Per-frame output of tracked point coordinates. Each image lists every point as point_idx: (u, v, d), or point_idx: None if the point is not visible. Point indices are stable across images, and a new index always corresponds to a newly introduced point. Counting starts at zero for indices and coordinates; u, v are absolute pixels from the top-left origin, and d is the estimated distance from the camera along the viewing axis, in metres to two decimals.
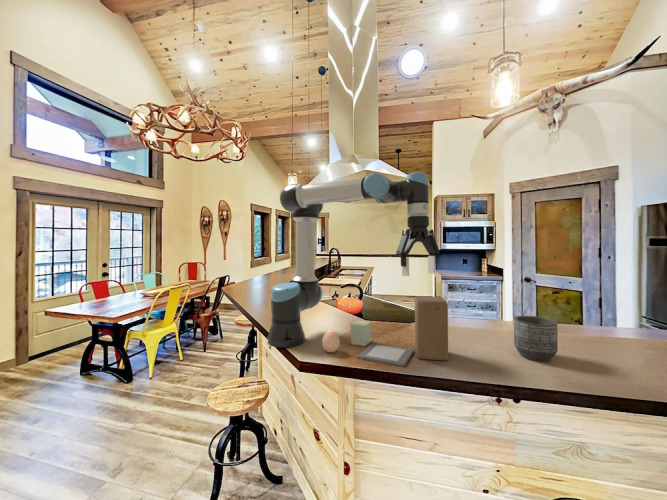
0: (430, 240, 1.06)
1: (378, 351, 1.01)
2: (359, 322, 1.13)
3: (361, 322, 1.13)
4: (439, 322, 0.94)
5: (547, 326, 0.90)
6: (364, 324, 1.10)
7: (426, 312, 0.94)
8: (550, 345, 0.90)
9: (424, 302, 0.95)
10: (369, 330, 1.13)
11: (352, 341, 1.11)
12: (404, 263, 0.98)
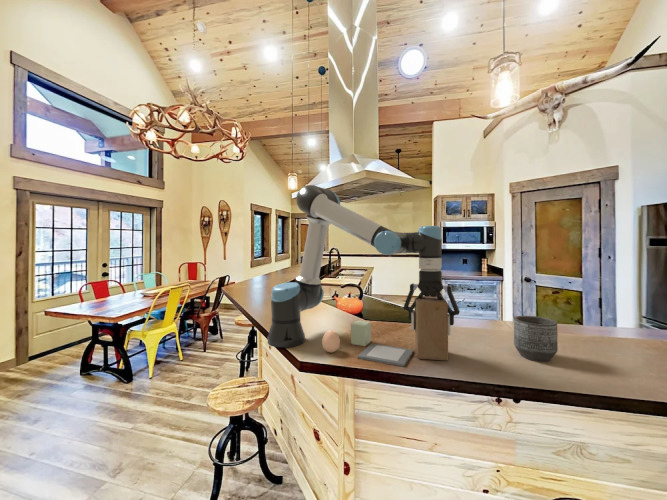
0: None
1: (378, 351, 1.01)
2: (359, 322, 1.13)
3: (361, 322, 1.13)
4: (439, 322, 0.94)
5: (547, 326, 0.90)
6: (364, 324, 1.10)
7: (426, 312, 0.94)
8: (550, 345, 0.90)
9: (424, 302, 0.95)
10: (369, 330, 1.13)
11: (352, 341, 1.11)
12: (409, 317, 1.02)
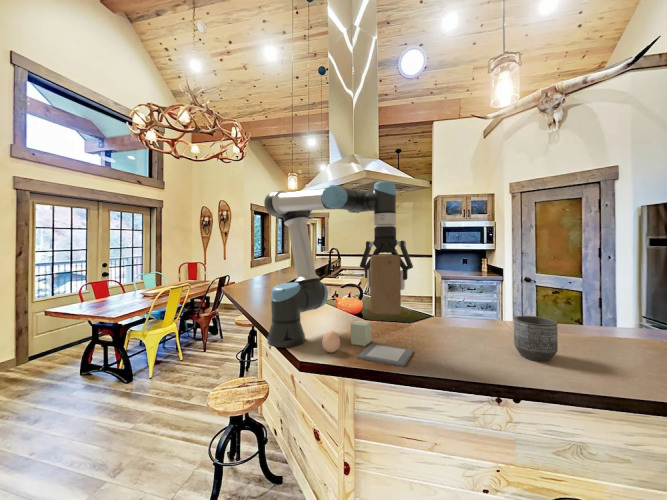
0: None
1: (378, 351, 1.01)
2: (359, 322, 1.13)
3: (361, 322, 1.13)
4: (391, 276, 0.94)
5: (547, 326, 0.90)
6: (364, 324, 1.10)
7: (379, 266, 0.95)
8: (550, 345, 0.90)
9: (377, 256, 0.95)
10: (369, 330, 1.13)
11: (352, 341, 1.11)
12: (366, 275, 1.02)
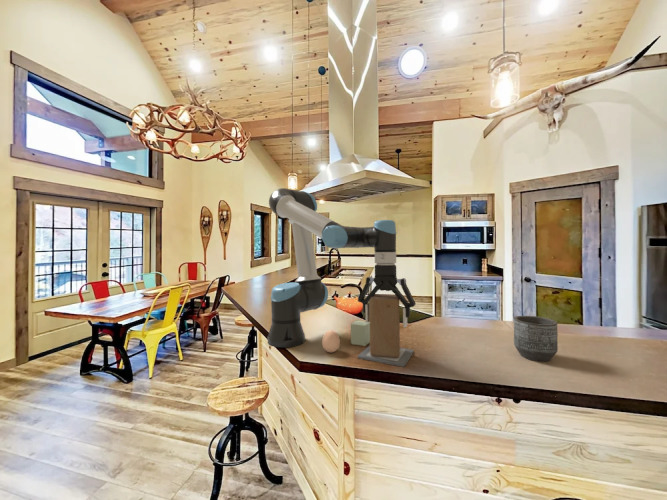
0: None
1: None
2: (359, 322, 1.13)
3: (361, 322, 1.13)
4: (390, 320, 0.94)
5: (547, 326, 0.90)
6: (364, 324, 1.10)
7: (378, 309, 0.95)
8: (550, 345, 0.90)
9: (376, 299, 0.95)
10: (369, 330, 1.13)
11: (352, 341, 1.11)
12: (364, 309, 1.02)
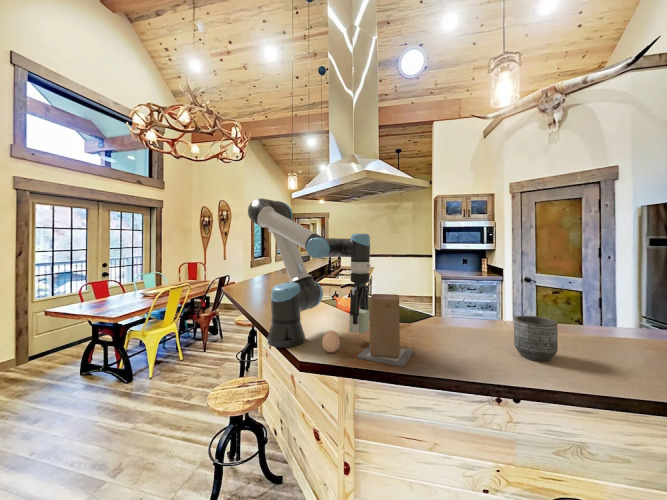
0: None
1: None
2: None
3: (360, 310, 1.13)
4: (390, 320, 0.94)
5: (547, 326, 0.90)
6: (363, 312, 1.11)
7: (378, 309, 0.95)
8: (550, 345, 0.90)
9: (376, 299, 0.95)
10: (368, 318, 1.13)
11: (350, 329, 1.11)
12: (356, 321, 1.09)
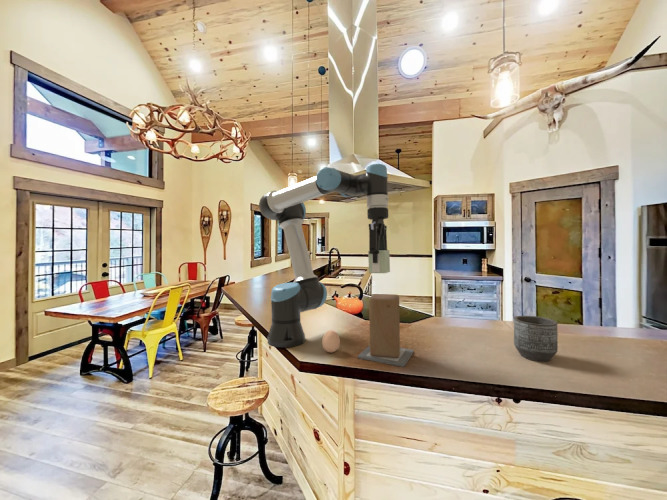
0: None
1: None
2: None
3: (379, 250, 1.03)
4: (390, 320, 0.94)
5: (547, 326, 0.90)
6: (383, 250, 1.00)
7: (378, 309, 0.95)
8: (550, 345, 0.90)
9: (376, 299, 0.95)
10: (388, 258, 1.03)
11: (370, 270, 1.01)
12: (376, 259, 0.98)
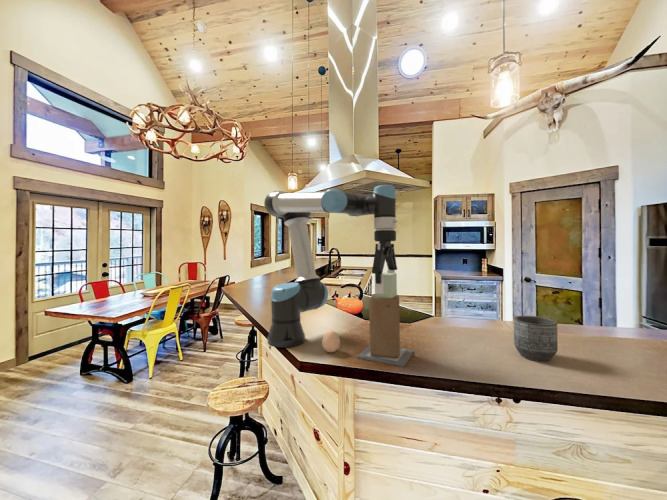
0: None
1: None
2: (384, 273, 0.99)
3: (386, 273, 1.00)
4: (390, 320, 0.94)
5: (547, 326, 0.90)
6: (390, 274, 0.97)
7: (378, 309, 0.95)
8: (550, 345, 0.90)
9: (376, 299, 0.95)
10: (395, 282, 0.99)
11: (376, 294, 0.98)
12: (380, 280, 0.92)
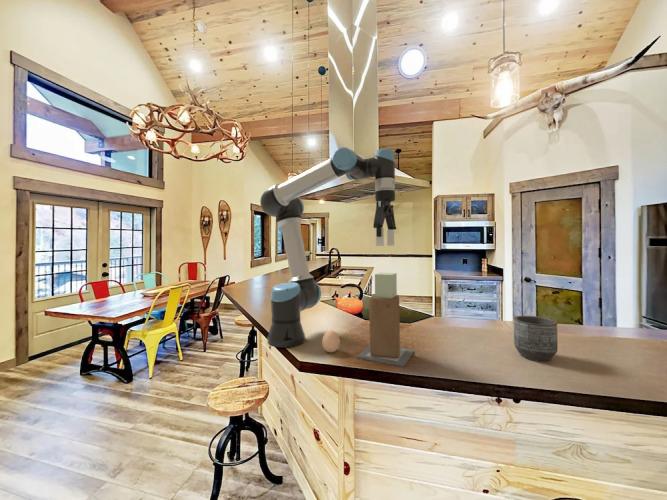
0: None
1: None
2: (384, 273, 0.99)
3: (386, 273, 1.00)
4: (390, 320, 0.94)
5: (547, 326, 0.90)
6: (390, 274, 0.97)
7: (378, 309, 0.95)
8: (550, 345, 0.90)
9: (376, 299, 0.95)
10: (395, 282, 0.99)
11: (376, 294, 0.98)
12: (380, 233, 1.02)
